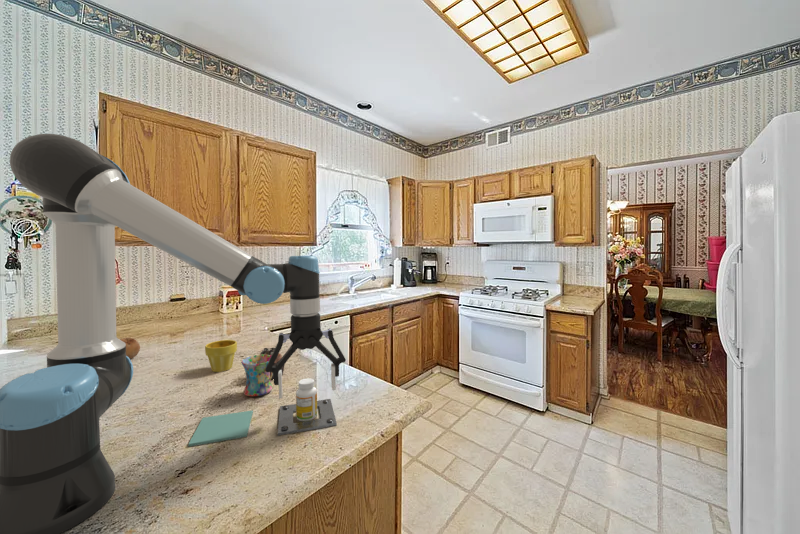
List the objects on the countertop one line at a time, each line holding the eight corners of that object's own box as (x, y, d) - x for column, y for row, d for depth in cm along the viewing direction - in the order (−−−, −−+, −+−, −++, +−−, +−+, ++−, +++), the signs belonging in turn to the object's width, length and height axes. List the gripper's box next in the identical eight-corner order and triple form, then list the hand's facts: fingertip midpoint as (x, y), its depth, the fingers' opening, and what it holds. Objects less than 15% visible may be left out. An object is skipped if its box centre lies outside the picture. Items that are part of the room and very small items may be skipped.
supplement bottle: (307, 409, 88) (307, 375, 87) (321, 414, 85) (321, 379, 85) (291, 418, 83) (291, 382, 83) (306, 424, 80) (305, 387, 80)
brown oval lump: (136, 365, 130) (147, 344, 130) (107, 366, 122) (118, 343, 122) (131, 353, 135) (141, 332, 135) (102, 353, 128) (113, 331, 127)
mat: (246, 436, 75) (246, 434, 75) (188, 446, 71) (188, 444, 71) (252, 412, 86) (252, 410, 86) (202, 419, 82) (202, 417, 82)
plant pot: (224, 375, 112) (223, 348, 112) (199, 373, 114) (198, 346, 113) (243, 365, 123) (242, 340, 122) (219, 363, 124) (219, 339, 124)
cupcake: (285, 379, 109) (285, 350, 109) (255, 383, 105) (254, 354, 105) (285, 369, 118) (284, 343, 117) (256, 373, 114) (256, 346, 114)
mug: (236, 394, 97) (235, 360, 97) (263, 383, 105) (262, 352, 105) (258, 404, 91) (257, 368, 90) (285, 392, 98) (285, 359, 98)
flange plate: (336, 425, 80) (336, 421, 80) (277, 435, 75) (277, 432, 75) (330, 400, 93) (330, 397, 93) (280, 408, 88) (280, 405, 88)
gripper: (350, 307, 90) (351, 379, 91) (255, 314, 82) (258, 393, 83) (354, 312, 83) (356, 390, 84) (252, 320, 75) (255, 406, 76)
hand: (307, 392), depth 84 cm, fingers open, 13 cm apart
